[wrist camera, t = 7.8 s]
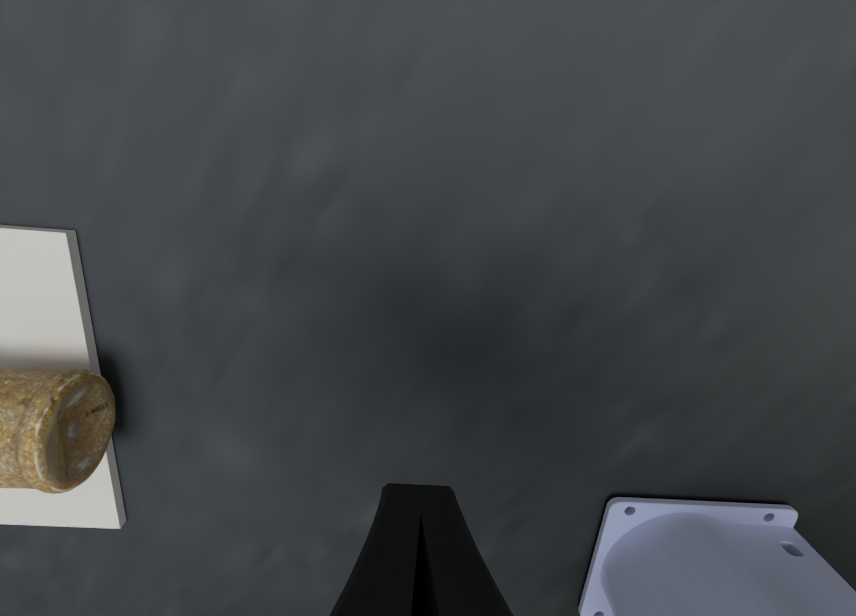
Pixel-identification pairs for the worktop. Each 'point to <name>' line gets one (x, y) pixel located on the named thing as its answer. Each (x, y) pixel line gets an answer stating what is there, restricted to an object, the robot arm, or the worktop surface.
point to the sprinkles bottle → (53, 428)
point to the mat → (52, 363)
